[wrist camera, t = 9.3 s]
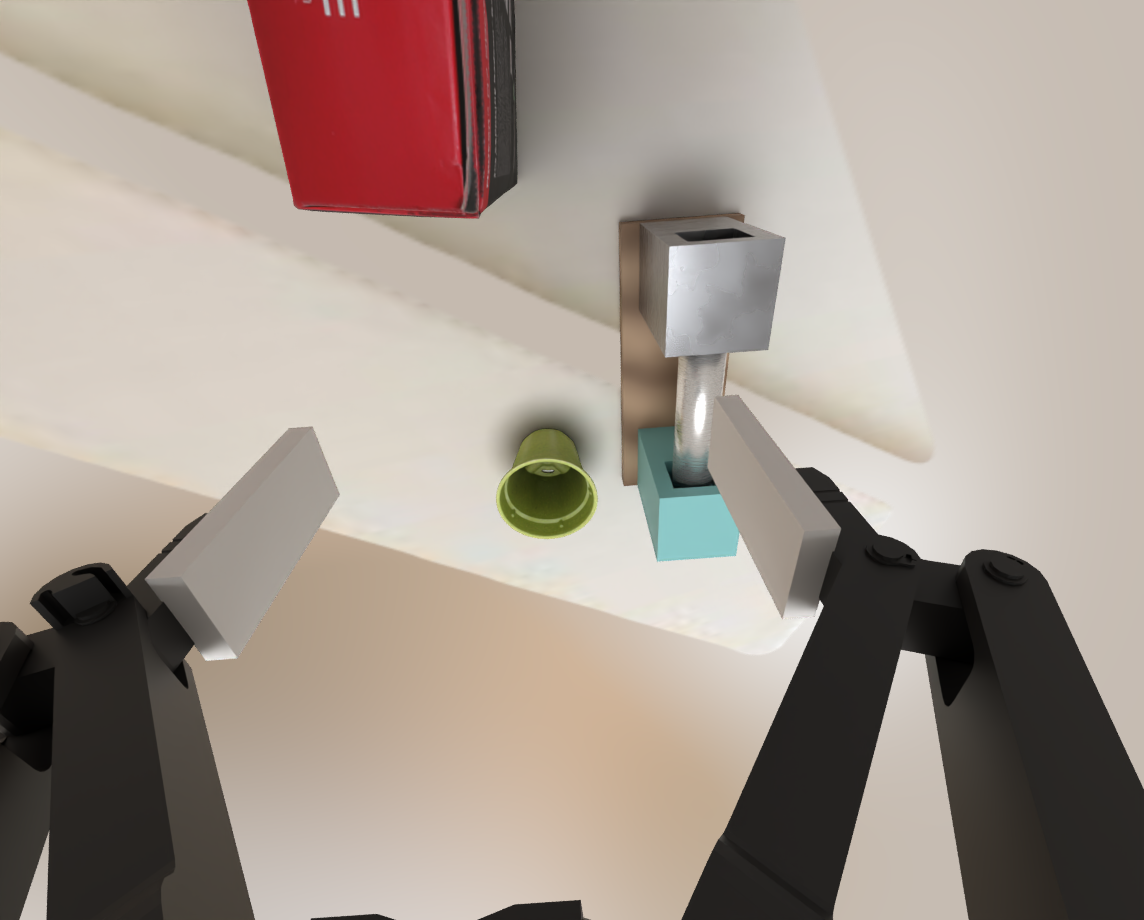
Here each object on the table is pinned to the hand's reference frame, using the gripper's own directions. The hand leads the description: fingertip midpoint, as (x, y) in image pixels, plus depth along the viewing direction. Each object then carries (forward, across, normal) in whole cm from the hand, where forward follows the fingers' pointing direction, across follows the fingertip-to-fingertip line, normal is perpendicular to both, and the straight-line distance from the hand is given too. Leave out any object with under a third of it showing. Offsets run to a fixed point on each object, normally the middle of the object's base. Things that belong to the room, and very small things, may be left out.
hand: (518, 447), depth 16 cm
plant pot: (+31, -1, -19) cm, 36 cm away
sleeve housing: (+29, +12, -1) cm, 32 cm away
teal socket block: (+29, +12, -20) cm, 37 cm away
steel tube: (+22, +12, -11) cm, 28 cm away
